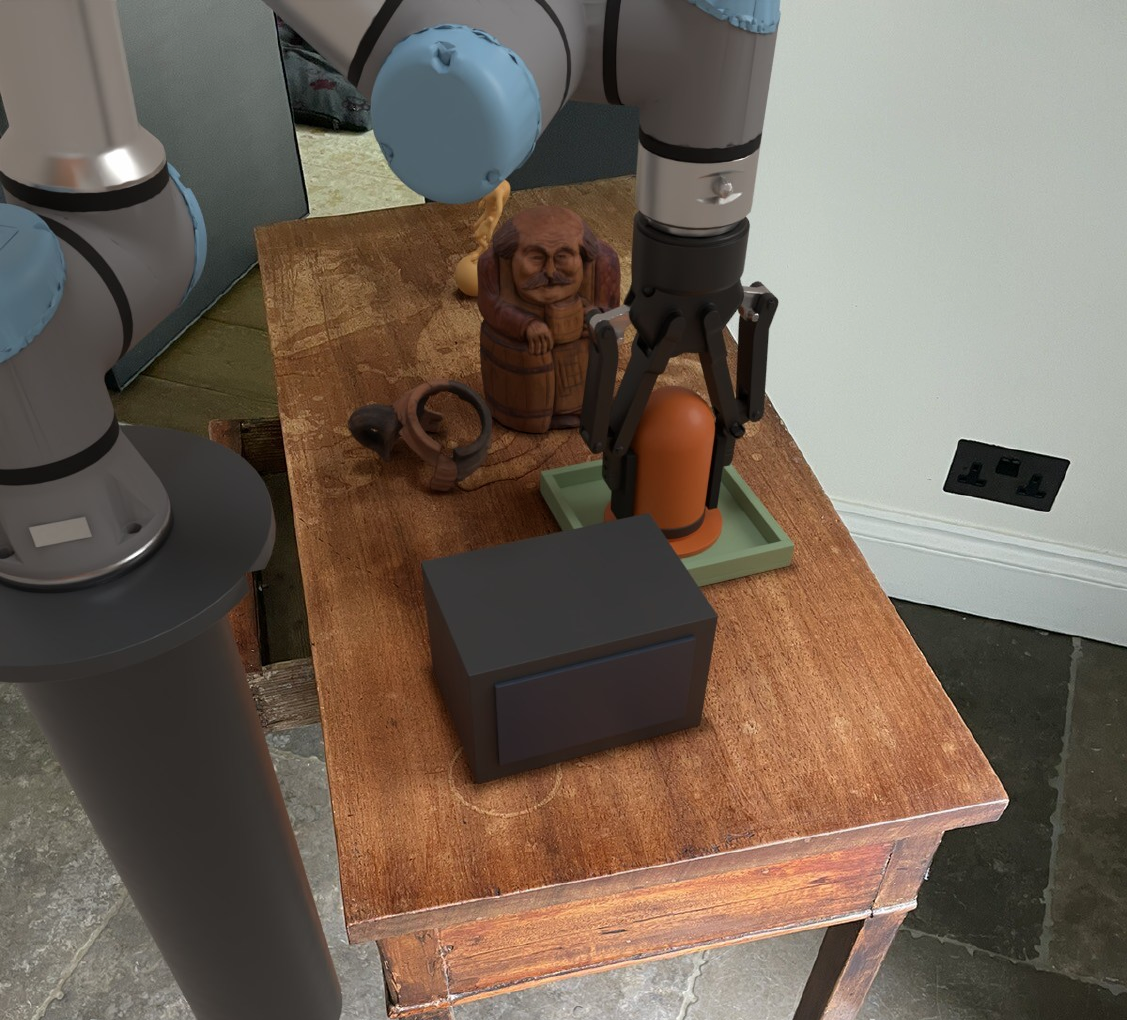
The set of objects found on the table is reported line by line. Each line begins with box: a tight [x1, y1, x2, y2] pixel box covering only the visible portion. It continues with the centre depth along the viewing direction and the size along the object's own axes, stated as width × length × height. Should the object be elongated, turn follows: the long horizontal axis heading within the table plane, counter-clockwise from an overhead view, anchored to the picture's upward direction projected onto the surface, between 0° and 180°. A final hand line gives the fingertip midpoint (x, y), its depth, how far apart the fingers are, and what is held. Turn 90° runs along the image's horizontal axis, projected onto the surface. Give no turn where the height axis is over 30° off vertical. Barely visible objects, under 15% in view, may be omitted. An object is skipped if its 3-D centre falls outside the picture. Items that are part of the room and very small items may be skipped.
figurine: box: [454, 179, 511, 297], centre depth 109 cm, size 8×6×12 cm
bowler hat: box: [604, 385, 722, 559], centre depth 82 cm, size 10×10×12 cm
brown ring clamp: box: [347, 378, 493, 492], centre depth 91 cm, size 12×10×8 cm
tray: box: [539, 458, 795, 588], centre depth 87 cm, size 16×16×2 cm
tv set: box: [420, 513, 719, 785], centre depth 71 cm, size 11×16×10 cm
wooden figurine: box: [476, 204, 622, 434], centre depth 91 cm, size 12×6×18 cm, turn 105°
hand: (663, 508), depth 86 cm, fingers open, 7 cm apart
